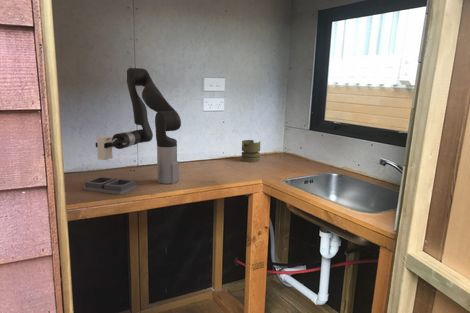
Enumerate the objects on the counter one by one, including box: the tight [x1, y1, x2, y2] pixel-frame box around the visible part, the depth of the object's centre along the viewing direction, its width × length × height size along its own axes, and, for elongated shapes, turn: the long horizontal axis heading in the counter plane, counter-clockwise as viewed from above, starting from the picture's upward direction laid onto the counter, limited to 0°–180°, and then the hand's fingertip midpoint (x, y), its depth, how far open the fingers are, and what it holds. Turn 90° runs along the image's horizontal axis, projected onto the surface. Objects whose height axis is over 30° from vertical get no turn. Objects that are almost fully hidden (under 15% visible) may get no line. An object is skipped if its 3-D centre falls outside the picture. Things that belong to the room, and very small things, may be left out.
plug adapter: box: [96, 135, 113, 161], centre depth 166 cm, size 4×5×10 cm
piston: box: [241, 139, 261, 164], centre depth 225 cm, size 11×12×11 cm
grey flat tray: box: [82, 176, 138, 195], centre depth 161 cm, size 19×12×3 cm, turn 71°
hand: (100, 145), depth 164 cm, fingers closed on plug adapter, 4 cm apart
